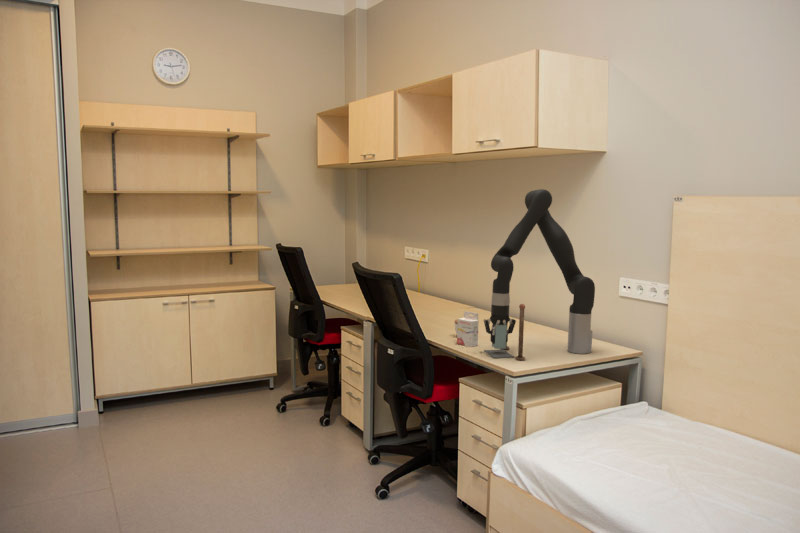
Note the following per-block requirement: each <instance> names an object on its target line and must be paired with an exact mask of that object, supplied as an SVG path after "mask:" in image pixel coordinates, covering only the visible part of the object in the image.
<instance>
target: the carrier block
mask: <svg viewBox="0 0 800 533" xmlns="http://www.w3.org/2000/svg"><path fill="white" fill-rule="evenodd" d="M494 327H495V326H494ZM506 329H507V330H508V325H496V330H495V344H492V343H491V347H492V348H494V350H501V349H506Z"/></svg>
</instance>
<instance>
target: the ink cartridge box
mask: <svg viewBox="0 0 800 533" xmlns="http://www.w3.org/2000/svg"><path fill="white" fill-rule="evenodd" d="M457 319H458V329H457V333H456V344H457V345H461V346H466V347H470V348H472V347H476V346H478V342H479V313H478V312H472V311H465V310H464V311H463V317H460V318H457Z"/></svg>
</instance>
